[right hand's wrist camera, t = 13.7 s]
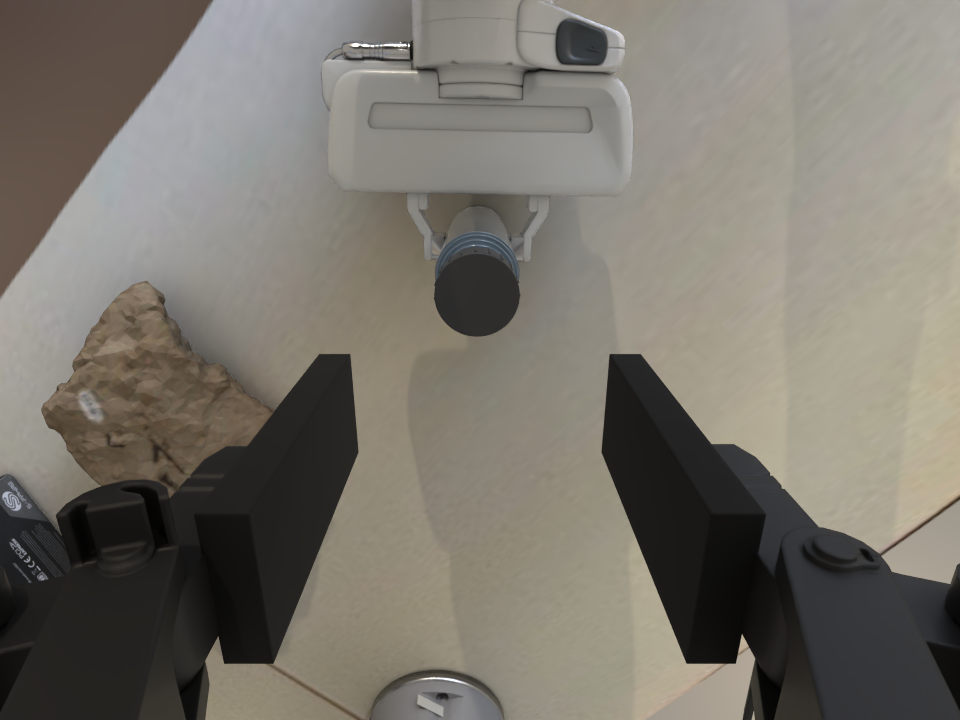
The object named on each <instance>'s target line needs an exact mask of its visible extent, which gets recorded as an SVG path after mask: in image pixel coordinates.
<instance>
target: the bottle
mask: <svg viewBox="0 0 960 720" xmlns="http://www.w3.org/2000/svg"><path fill="white" fill-rule="evenodd" d="M475 246H476V247H483V248H490V249H491V250H493V251H495V252H497V253H499V254H502V255H503V257H504V258H505V259H506V260H507V261H508V262H509V263H511V264H512V267H513V270H514V273H515V275H517V278H518V281H519V265H518V261H517V258H516V255H515V252H514V250H513V247H512V244H511V242H510V239H509V236H508V233H507V231H506V228H505V225H504V223H503V221H502V219H501V218H500V216H499V215H498V214H497V213H496V212H494V211H493V210H491V209H489V208H487V207H483V206H472V207H468V208H466V209H464V210H462V211H461V212H460V213H458V214H457V215H456V217H455V218H454V219H453V221H452V223H451V226H450V228H449V231H448V233H447V236H446V239H445V241H444V244H443V246H442V249H441V251H440V254H439V257H438V259H437V262H436V267H435V279H437V278H438V276H439V271H440V268H441V266H443V265H444V264H445V262H446V261H447V260H448V259H449V256H450V255H451V256H452V255H454V254H455V253H457V252H459V251H461V249H466V248H471V247H475Z"/></svg>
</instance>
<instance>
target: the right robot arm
mask: <svg viewBox="0 0 960 720" xmlns="http://www.w3.org/2000/svg"><path fill="white" fill-rule="evenodd" d="M357 454H358V442H357V430H356V418H355V406H354V393H353V381H352V369H351V357H350V354H319V355H318V357H317V358H316V359H315V360H314V362H313V363H312V364H311V366H310V367H309V368H308V369H307V371H306V372H305V373H304V374H303V376H302V377H301V378H300V380H299V381H298V382H297V383H296V385H295V386H294V387H293V388H292V390H291V391H290V392H289V393H288V395H287V396H286V397H285V399H284V400H283V401H282V402H281V404H280V405H279V406H278V407H277V409H276V410H275V411H274V413H273V414H272V415H271V416H270V418H269V419H268V420H267V421H266V423H265V424H264V425H263V427H262V428H261V429H260V430H259V432H258V433H257V434H256V435H255V437H254V438H253V439H252V441H251V442H250V443H249V444H248V446H226V447H224V448H222V449H221V450H219V451H217V452H216V453H214V454H212V455H211V456H209V457H207V458H206V459H204V460H203V461H202V462H201V464H200V465H199V466H198V467H197V468H196V469H195V470H194V471H193V473H192V474H191V475H190V478H187V479H186V480H185V482H184V483H183V484H182V485H181V486H180V487H179V491H176V492H175V493H174V494H173V495H172V496H171V497H170V498H169V494H168V489H167V487H165V486H164V485H163V484H161V483H160V482H157V481H151V480H146V479H140V480H125V481H120V482H116V483H112V484H108V485H104V486H101V487H99V488H96V489H94V490H91V491H88V492H86V493H83V494H82V495H80V496H79V497H77V498H75V499H74V500H72V501H70V502H69V503H67V504H66V505H65V506H64V507H63V508H62V509H61V510H60V511H59V512H58V513H57V514H56V518H57V521H58V524H59V528H60V531H61V534H62V537H63V541H64V544H65V547H66V551H67V554H68V557H69V561H70V564H71V568H70V571H69V573H68V575H64V576H61V577H56V578H51V579H46V580H41V581H36V582H31V583H26V584H22V585H17V586H12V587H10V584H9V581H8V578H7V575H6V573H5V570H4V568H3V567H2V566H0V720H205V716H206V708H207V700H208V692H209V678H208V672H207V667H206V663H205V660H206V658H207V656H208V654H209V652H210V650H211V649H212V647H213V645H214V643H215V641H216V639H217V637H218V636H219V640H220V645H221V650H222V655H223V660H224V664H273V663H274V661H275V658H276V656H277V653H278V651H279V648H280V646H281V643H282V641H283V638H284V636H285V633H286V631H287V628H288V626H289V624H290V621H291V619H292V616H293V614H294V611H295V609H296V606H297V604H298V601H299V599H300V596H301V594H302V591H303V589H304V586H305V584H306V581H307V579H308V576H309V574H310V571H311V569H312V566H313V564H314V561H315V559H316V556H317V554H318V551H319V549H320V546H321V544H322V541H323V539H324V537H325V534H326V532H327V529H328V527H329V524H330V522H331V519H332V517H333V514H334V512H335V509H336V507H337V504H338V502H339V499H340V497H341V494H342V492H343V489H344V487H345V484H346V482H347V479H348V477H349V474H350V472H351V469H352V467H353V464H354V462H355V459H356V457H357ZM602 454H603V457H604V459H605V462H606V464H607V467H608V469H609V472H610V474H611V477H612V479H613V482H614V484H615V487H616V489H617V492H618V494H619V497H620V499H621V502H622V504H623V507H624V509H625V512H626V514H627V517H628V519H629V522H630V524H631V527H632V529H633V532H634V534H635V537H636V539H637V541H638V544H639V546H640V549H641V551H642V554H643V556H644V559H645V561H646V564H647V566H648V569H649V571H650V574H651V576H652V579H653V581H654V584H655V586H656V589H657V591H658V594H659V596H660V599H661V601H662V604H663V606H664V609H665V611H666V614H667V616H668V619H669V621H670V624H671V626H672V628H673V631H674V633H675V636H676V638H677V641H678V643H679V646H680V648H681V651H682V653H683V656H684V658H685V661H686V663H687V664H735V663H736V660H737V655H738V650H739V645H740V640H741V636H742V634H743V636H744V638H745V640H746V642H747V644H748V646H749V647H750V649H751V651H752V653H753V655H754V657H755V663H754V667H753V672H752V676H751V681H750V685H749V690H748V695H747V699H746V704H745V708H744V715H743V720H751V719H752V715H753V711H754V715H755V720H960V564H958V565H957V567H956V570H955V573H954V575H953V578H952V581H951V584H947V583H942V582H936V581H932V580H927V579H922V578H917V577H912V576H907V575H902V574H898V573H894V572H891V569H890V567H889V566H888V564H887V563H886V562H885V561H884V559H883V558H882V557H881V556H880V554H879V553H877V552H876V551H875V550H873V549H872V548H870V547H869V546H868V545H866V544H865V543H863V542H862V541H859V540H857V539H855V538H853V537H851V536H849V535H846V534H844V533H841V532H837V531H834V530H830V529H826V528H820V527H818V526H817V525H816V524H815V522H814V521H813V520H812V519H811V518H810V517H809V516H808V515H807V514H806V512H805V511H804V510H803V509H802V508H801V507H800V506H799V505H798V504H797V502H796V501H795V500H794V499H793V498H792V497H791V496H790V495H789V493H788V492H787V491H786V490H785V489H782V488H781V485H780V483H779V482H778V481H777V480H776V479H775V478H774V477H773V476H770V472H769V471H768V470H767V469H766V468H765V467H764V466H763V465H762V463H761V462H760V461H759V460H758V459H757V458H756V457H755V456H753V455H751V454H749V453H748V452H746V451H744V450H743V449H741V448H739V447H738V446H736V445H734V444H711V443H710V442H709V441H708V439H707V438H706V437H705V435H704V434H703V433H702V432H701V430H700V429H699V428H698V427H697V425H696V424H695V423H694V421H693V420H692V419H691V418H690V416H689V415H688V414H687V413H686V411H685V410H684V409H683V407H682V406H681V405H680V404H679V402H678V401H677V400H676V399H675V397H674V396H673V395H672V393H671V392H670V391H669V390H668V388H667V387H666V386H665V385H664V383H663V382H662V381H661V380H660V378H659V377H658V376H657V374H656V373H655V372H654V371H653V369H652V368H651V367H650V366H649V364H648V363H647V362H646V360H645V359H644V358H643V357H642V355H641V354H610V357H609V369H608V381H607V393H606V405H605V418H604V430H603V442H602ZM370 720H504V714H503V710H502V707H501V704H500V702H499V700H498V699H497V697H496V696H495V695H494V693H493V692H492V691H491V690H490V689H489V688H487V687H486V686H485V685H483V684H482V683H481V682H479V681H477V680H475V679H473V678H471V677H469V676H466V675H463V674H460V673H456V672H451V671H442V670H430V671H421V672H416V673H412V674H409V675H406V676H404V677H401V678H399V679H397V680H395V681H394V682H392V683H391V684H389V685H388V686H387V687H386V688H385V689H384V690H383V691H382V692H381V693H380V694H379V695H378V697H377V698H376V700H375V702H374V704H373V707H372V711H371V716H370Z"/></svg>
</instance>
